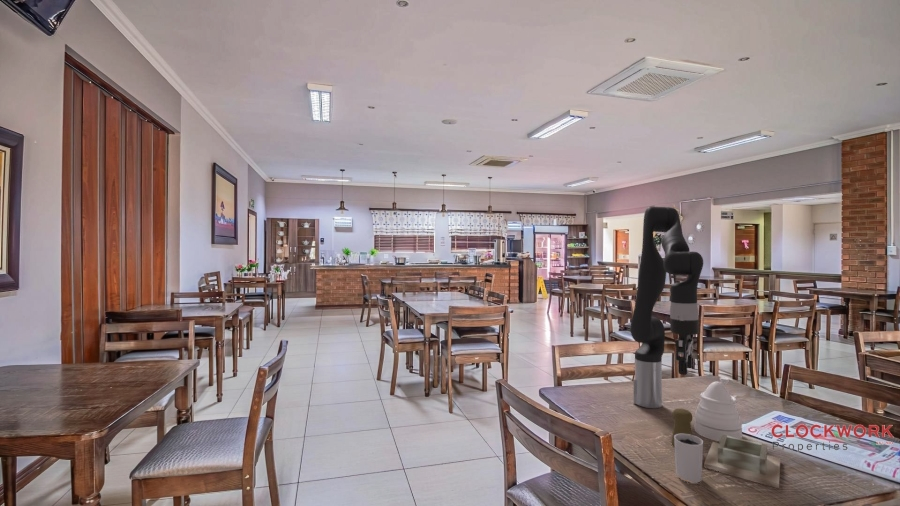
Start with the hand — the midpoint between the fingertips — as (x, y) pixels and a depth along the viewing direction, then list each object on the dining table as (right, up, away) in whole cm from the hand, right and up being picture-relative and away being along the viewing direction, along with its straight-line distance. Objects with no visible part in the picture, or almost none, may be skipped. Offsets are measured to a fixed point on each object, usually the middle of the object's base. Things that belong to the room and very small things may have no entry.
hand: (685, 370), depth 126 cm
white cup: (-9, -23, -17) cm, 30 cm away
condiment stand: (+9, -23, -12) cm, 27 cm away
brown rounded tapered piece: (-1, -23, -1) cm, 23 cm away
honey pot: (+15, -23, +8) cm, 28 cm away
